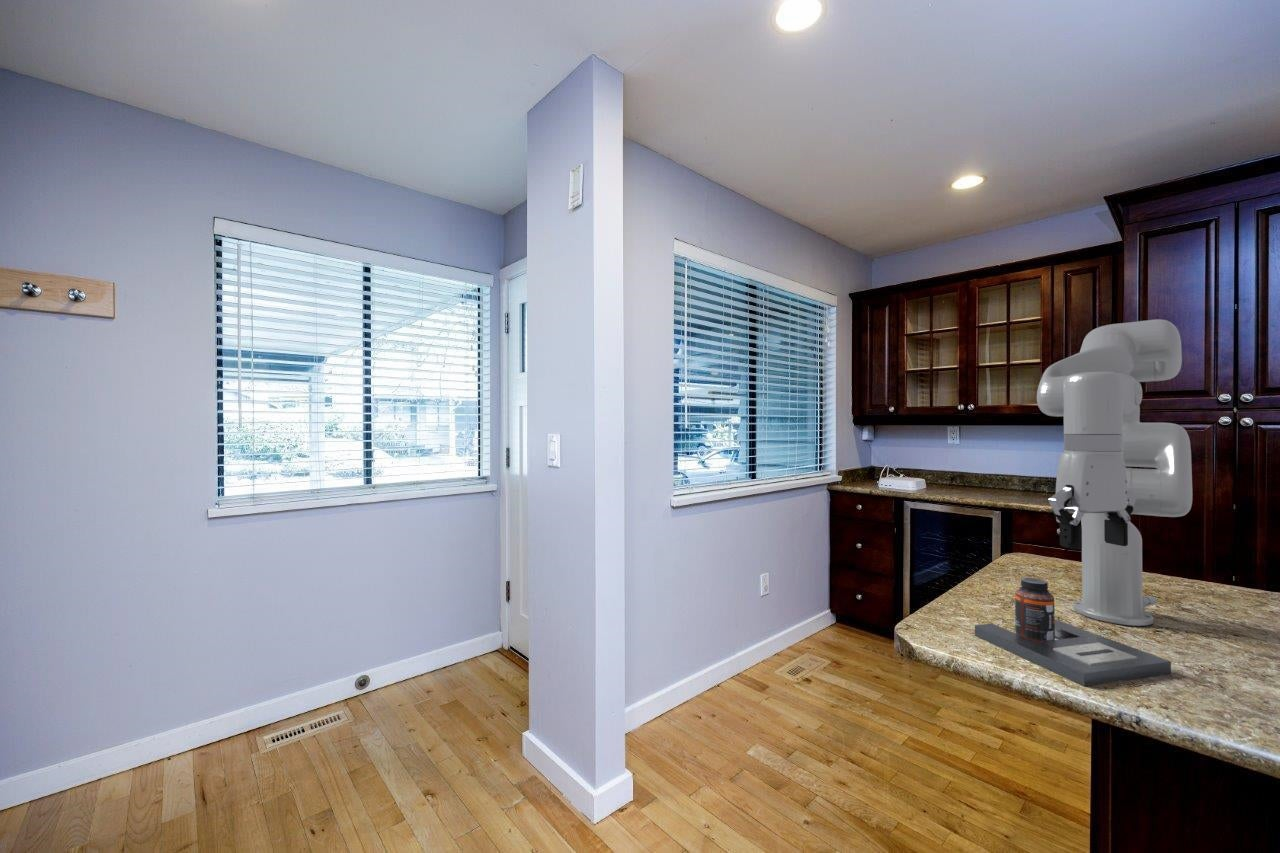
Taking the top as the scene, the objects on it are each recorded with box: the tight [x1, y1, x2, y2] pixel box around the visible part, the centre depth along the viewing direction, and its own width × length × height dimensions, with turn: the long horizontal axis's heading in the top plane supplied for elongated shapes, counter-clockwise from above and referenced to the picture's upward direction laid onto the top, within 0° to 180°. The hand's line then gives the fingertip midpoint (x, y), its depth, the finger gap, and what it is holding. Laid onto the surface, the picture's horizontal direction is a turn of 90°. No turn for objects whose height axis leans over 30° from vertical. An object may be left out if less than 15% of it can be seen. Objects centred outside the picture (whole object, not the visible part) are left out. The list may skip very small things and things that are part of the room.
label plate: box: [974, 619, 1172, 687], centre depth 92 cm, size 18×20×2 cm
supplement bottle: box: [1014, 577, 1055, 642], centre depth 97 cm, size 6×6×11 cm
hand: (1093, 545), depth 87 cm, fingers open, 9 cm apart
